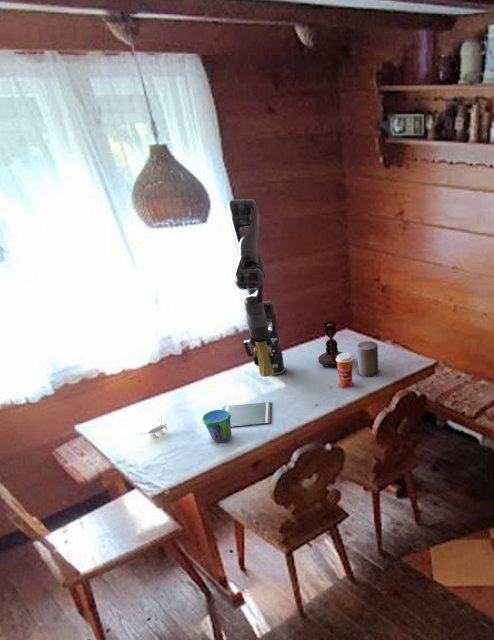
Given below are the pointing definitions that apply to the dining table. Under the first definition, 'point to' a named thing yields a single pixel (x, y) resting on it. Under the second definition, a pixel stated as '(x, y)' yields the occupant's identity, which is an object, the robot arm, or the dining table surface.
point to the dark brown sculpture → (330, 346)
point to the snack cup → (218, 425)
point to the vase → (264, 359)
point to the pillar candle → (368, 358)
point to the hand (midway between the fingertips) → (265, 364)
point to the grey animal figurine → (157, 428)
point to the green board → (249, 414)
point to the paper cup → (345, 369)
